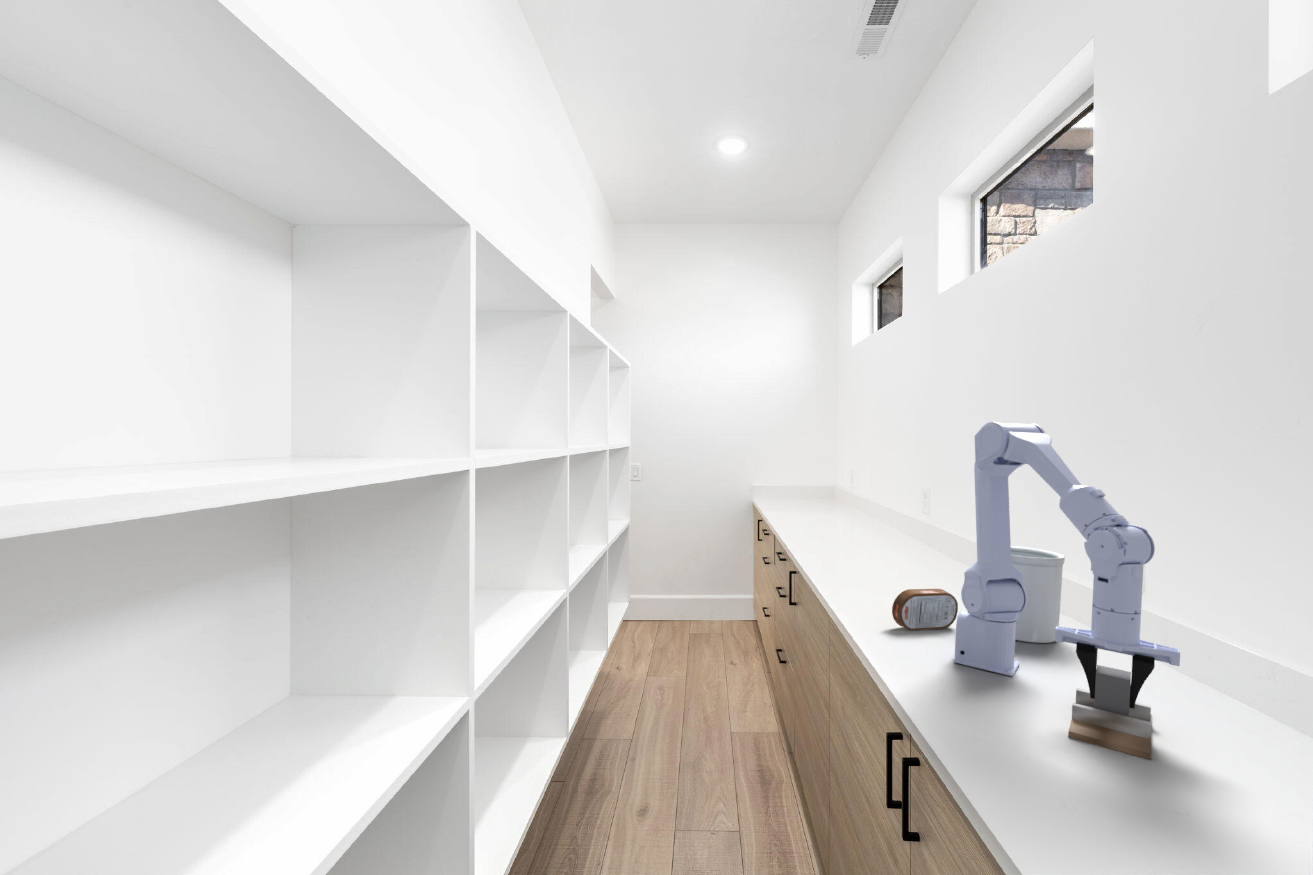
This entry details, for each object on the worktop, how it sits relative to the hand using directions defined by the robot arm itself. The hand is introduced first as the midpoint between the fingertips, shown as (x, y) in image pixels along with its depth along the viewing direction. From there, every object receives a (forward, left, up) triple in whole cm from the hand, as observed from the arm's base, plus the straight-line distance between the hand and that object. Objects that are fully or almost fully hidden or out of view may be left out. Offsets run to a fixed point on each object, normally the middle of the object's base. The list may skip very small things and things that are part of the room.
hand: (1111, 701), depth 90 cm
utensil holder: (-17, +40, -4) cm, 44 cm away
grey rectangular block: (0, 0, -2) cm, 2 cm away
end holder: (0, 0, -3) cm, 3 cm away
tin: (-33, +28, -4) cm, 43 cm away
